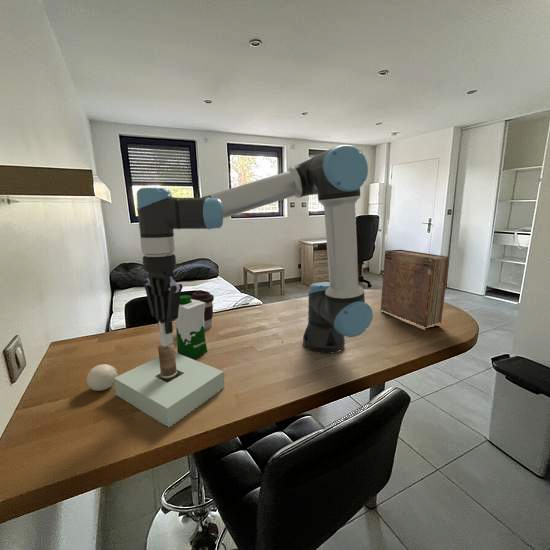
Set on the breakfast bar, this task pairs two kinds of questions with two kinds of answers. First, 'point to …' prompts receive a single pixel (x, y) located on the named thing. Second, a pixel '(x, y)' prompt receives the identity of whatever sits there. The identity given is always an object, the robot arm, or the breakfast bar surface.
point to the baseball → (101, 377)
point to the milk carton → (190, 327)
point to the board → (169, 388)
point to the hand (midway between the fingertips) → (167, 343)
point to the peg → (167, 362)
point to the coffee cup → (208, 311)
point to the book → (414, 286)
